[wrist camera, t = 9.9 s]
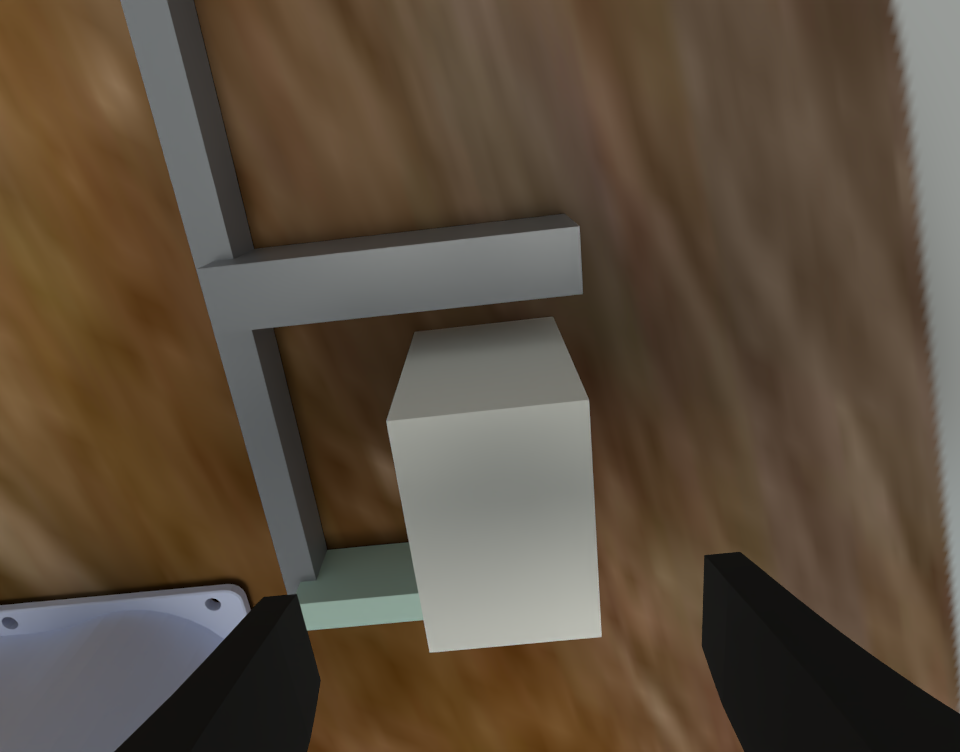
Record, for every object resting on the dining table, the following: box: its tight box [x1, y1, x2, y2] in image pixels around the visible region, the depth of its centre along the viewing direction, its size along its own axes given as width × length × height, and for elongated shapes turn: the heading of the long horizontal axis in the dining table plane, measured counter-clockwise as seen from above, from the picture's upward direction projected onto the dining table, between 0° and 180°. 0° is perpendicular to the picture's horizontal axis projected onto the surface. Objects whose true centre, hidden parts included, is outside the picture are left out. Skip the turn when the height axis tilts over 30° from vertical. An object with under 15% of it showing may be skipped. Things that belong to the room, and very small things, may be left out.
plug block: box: [386, 317, 602, 653], centre depth 16 cm, size 4×6×6 cm, turn 6°
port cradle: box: [120, 0, 583, 630], centre depth 16 cm, size 10×20×2 cm, turn 6°
